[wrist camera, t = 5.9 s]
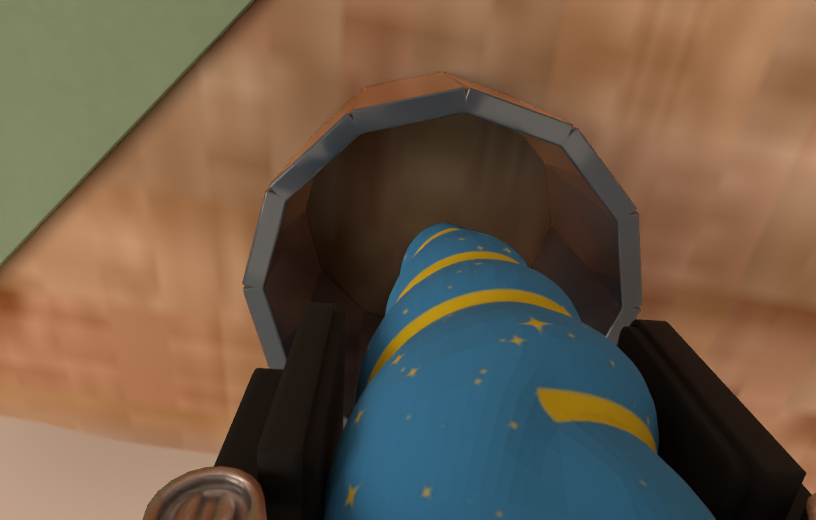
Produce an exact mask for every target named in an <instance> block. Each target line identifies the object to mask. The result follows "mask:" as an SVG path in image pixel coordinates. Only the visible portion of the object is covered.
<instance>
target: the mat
mask: <svg viewBox="0 0 816 520" xmlns="http://www.w3.org/2000/svg"><path fill="white" fill-rule="evenodd" d="M254 1H255V0H0V267H1V266H2V265H3V264H4V263H5V262H6V261H7V260H8V259H9V258H10V257H11V256H12V255H13V254H14V252H15V251H16V250H17V249H18V248H19V247H20V246H21V245H22V244H23V243H24V242H25V241H26V240H27V239H28V238H29V237H30V236H31V235H32V234H33V233H34V232H35V231H36V229H37V228H38V227H39V226H40V225H41V224H42V223H43V222H44V221H45V220H46V219H47V218H48V217H49V216H50V215H51V214H52V213H53V212H54V211H55V210H56V209H57V207H58V206H59V205H60V204H61V203H62V202H63V201H64V200H65V199H66V198H67V197H68V196H69V195H70V194H71V193H72V192H73V191H74V190H75V189H76V188H77V187H78V186H79V184H80V183H81V182H82V181H83V180H84V179H85V178H86V177H87V176H88V175H89V174H90V173H91V172H92V171H93V170H94V169H95V168H96V167H97V166H98V165H99V164H100V162H101V161H102V160H103V159H104V158H105V157H106V156H107V155H108V154H109V153H110V152H111V151H112V150H113V149H114V148H115V147H116V146H117V145H118V144H119V143H120V142H121V141H122V139H123V138H124V137H125V136H126V135H127V134H128V133H129V132H130V131H131V130H132V129H133V128H134V127H135V126H136V125H137V124H138V123H139V122H140V121H141V120H142V119H143V118H144V116H145V115H146V114H147V113H148V112H149V111H150V110H151V109H152V108H153V107H154V106H155V105H156V104H157V103H158V102H159V101H160V100H161V99H162V98H163V97H164V96H165V94H166V93H167V92H168V91H169V90H170V89H171V88H172V87H173V86H174V85H175V84H176V83H177V82H178V81H179V80H180V79H181V78H182V77H183V76H184V75H185V74H186V73H187V71H188V70H189V69H190V68H191V67H192V66H193V65H194V64H195V63H196V62H197V61H198V60H199V59H200V58H201V57H202V56H203V55H204V54H205V53H206V52H207V51H208V50H209V48H210V47H211V46H212V45H213V44H214V43H215V42H216V41H217V40H218V39H219V38H220V37H221V36H222V35H223V34H224V33H225V32H226V31H227V30H228V29H229V28H230V26H231V25H232V24H233V23H234V22H235V21H236V20H237V19H238V18H239V17H240V16H241V15H242V14H243V13H244V12H245V11H246V10H247V9H248V8H249V7H250V6H251V5H252V3H253V2H254Z"/></svg>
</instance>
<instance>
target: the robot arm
mask: <svg viewBox="0 0 816 520" xmlns="http://www.w3.org/2000/svg"><path fill="white" fill-rule="evenodd" d="M617 347H618V348H619V349H620V350H621V351H622V352H623V353H624V354H625V355H626V356H627V357H628V358H629V359H630V360H631V361H632V362H633V364H634V365H635V366H636V367H637V369H638V370H639V372H640V373H641V375H642V377H643V379H644V381H645V383H646V385H647V387H648V390H649V392H650V394H651V397H652V399H653V401H654V405H655V409H656V414H657V424H658V431H659V446H658V456H659V457H660V458H661V459H662V460H663V461H664V462H666V463H667V464H668V465H669V466H670V467H671V468H672V469H673V470H674V471H675V472H676V473H677V474H678V475H679V476H680V477H681V478H682V479H683V480H684V481H685V482H686V483H687V484H688V485H689V487H690V488H691V489H692V490H693V491H694V493H695V494H696V495H697V496H698V497H699V499H700V500H701V501H702V502H703V503H704V504H705V506H706V507H707V508H708V509H709V511H710V512H711V513H712V515H713V516H714V517H715V519H716V520H816V493H815V494H813V495H811V493H810V492H809V491H808V490H807V489H806V488H805V487H804V486H803V484H802V482H803V480H804V477H805V475H806V472H805V471H804V470H803V469H802V468H801V467H800V466H799V465H798V463H797V462H796V461H795V460H794V459H793V458H792V457H791V456H790V455H789V454H788V453H787V452H786V450H785V449H784V448H783V447H782V446H781V445H780V444H779V443H778V442H777V441H776V440H775V438H774V437H773V436H772V435H771V434H770V433H769V432H768V431H767V430H766V429H765V428H764V427H763V425H762V424H761V423H760V422H759V421H758V420H757V419H756V418H755V417H754V416H753V415H752V413H751V412H750V411H749V410H748V409H747V408H746V407H745V406H744V405H743V404H742V403H741V402H740V400H739V399H738V398H737V397H736V396H735V395H734V394H733V393H732V392H731V391H730V390H729V388H728V387H727V386H726V385H725V384H724V383H723V382H722V381H721V380H720V379H719V378H718V377H717V375H716V374H715V373H714V372H713V371H712V370H711V369H710V368H709V367H708V366H707V365H706V363H705V362H704V361H703V360H702V359H701V358H700V357H699V356H698V355H697V354H696V353H695V352H694V350H693V349H692V348H691V347H690V346H689V345H688V344H687V343H686V342H685V341H684V340H683V338H682V337H681V336H680V335H679V334H678V333H677V332H676V331H675V330H674V329H673V328H672V327H671V325H670V324H669V323H667V322H666V321H653V320H634V321H632V322H631V324H630V326H625V327H623V328H622V330H621V332H620V334H619V339H618V343H617ZM345 350H346V312H342V311H336V304H333V303H314V302H306V304H305V307H304V310H303V313H302V316H301V319H300V322H299V325H298V328H297V331H296V334H295V337H294V340H293V343H292V346H291V349H290V352H289V355H288V358H287V361H286V364H285V367H284V369H265V368H257V369H255V371H254V373H253V374H252V377H251V379H250V382H249V384H248V386H247V389H246V391H245V393H244V396H243V398H242V401H241V403H240V405H239V408H238V410H237V413H236V415H235V417H234V420H233V422H232V424H231V427H230V429H229V432H228V434H227V436H226V439H225V441H224V444H223V446H222V448H221V451H220V453H219V455H218V458H217V460H216V463H215V465H214V467H205V468H201V469H198V470H194V471H190V472H187V473H185V474H183V475H181V476H179V477H177V478H175V479H173V480H171V481H170V482H169V483H168V484H167V485H165V486H164V487H163V488H162V489H161V490H159V491H158V492H157V494H155V496H154V497H153V498H152V500H151V501H150V503H149V504H148V505H147V509H146V511H145V514H144V517H143V520H322V511H323V498H324V491H325V487H326V482H327V478H328V474H329V470H330V466H331V462H332V458H333V454H334V451H335V448H336V445H337V443H338V440H339V437H340V435H341V433H342V431H343V418H344V384H345Z"/></svg>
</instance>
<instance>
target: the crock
mask: <svg viewBox="0 0 816 520" xmlns="http://www.w3.org/2000/svg"><path fill="white" fill-rule="evenodd" d="M461 113H466V114H469V115H472V116H475V117H478V118H481V119H483V120H486V121H489V122H492V123H495V124H497V125H500V126H503V127H506V128H509V129H512V130H514V131H517V132H520V133H521V134H522V135H523V136H524V137H525V139H526V140H527V141H528V142H529V144H530V145H531V146H532V148H533V149H534V150H535V151H536V153H537V154H538V155H539V156H540V158H541V159H542V160H543V162H544V163H545V170H546V179H547V189H548V198H549V208H550V217H551V227H550V229H549V232H548V234H547V236H546V238H545V240H544V243H543V245H542V247H541V249H540V251H539V254H538V256H537V258H536V260H535V262H534V264H533V267H532V269H534V270H536V271H538V272H539V273H541V274H543V275H544V276H546V277H547V278H549V279H550V280H552V281H553V282H554V283H555V284H557V285H558V286H559V287H560V288H561V289H562V290H563V292H564V293H565V294H566V295H567V296H568V297H569V299H570V300H571V302H572V303H573V305H574V307H575V309H576V311H577V313H578V315H579V317H580V319H581V322H583V323H584V324H586V325H588V326H590V327H591V328H593V329H595V330H597V331H598V332H600V333H601V334H603V335H604V336H606V337H607V338H608V339H610V340H611V341H612V342H613V343H614V344H615V345H616V346H617V343H618V339H619V334H620V332H621V330H622V328H623V327H625V326H630V324H631V322H632V321H634V320H636V318H637V316H638V315H639V313H640V311H641V309H640V307H639V306H642V281H641V258H640V234H639V214H638V212H637V211H635V210H636V209H637V208H636V206H635V205H634V203H633V202H632V201H631V199H630V198H629V197H628V195H627V194H626V192H625V191H624V190H623V188H622V187H621V186H620V184H619V183H618V182H617V180H616V179H615V178H614V176H613V175H612V174H611V172H610V171H609V170H608V168H607V167H606V166H605V164H604V163H603V161H602V160H601V159H600V157H599V156H598V155H597V153H596V152H595V151H594V149H593V148H592V147H591V145H590V144H589V143H588V141H587V140H586V139H585V137H584V136H583V135H582V133H581V132H580V130H579V129H578V128H576V127H574V126H573V125H572V124H570V123H568V122H566V121H564V120H562V119H560V118H557V117H555V116H553V115H551V114H549V113H546V112H544V111H542V110H540V109H538V108H536V107H533V106H531V105H529V104H527V103H525V102H522V101H520V100H518V99H516V98H514V97H511V96H509V95H506V94H503V93H500V92H498V91H495V90H492V89H489V88H487V87H484V86H481V85H478V84H476V83H473V82H470V81H467V80H465V79H462V78H459V77H456V76H454V75H451V74H448V73H445V72H443V73H441V72H436V73H431V74H426V75H421V76H417V77H412V78H407V79H402V80H397V81H393V82H388V83H383V84H378V85H373V86H368V87H366V88H365V90H364V89H362V90H361V91H360V92H359V93H358V94H357V95H356V96H355V97H354V98H352V99H351V100H350V101H349V102H348V103H347V104H346V105H345V106H344V107H343V108H342V109H341V110H340V111H339V112H338V113H336V114H335V115H334V116H333V117H332V118H331V119H330V120H329V121H328V122H327V123H326V124H325V125H324V126H323V127H321V128H320V129H319V130H318V131H317V132H316V133H315V134H314V135H313V136H312V137H311V138H310V139H309V140H308V141H307V142H306V143H305V145H304V146H303V147H302V148H301V149H300V150H299V152H298V153H297V154H296V155H295V156H294V157H293V158H292V160H291V161H290V162H289V163H288V164H287V165H286V166H285V168H284V169H283V170H282V171H281V172H280V173H279V174H278V176H277V177H276V178H275V179H274V180H273V181H272V182H271V184H270V185H269V188H268V189H267V191H266V192H265V195H264V199H263V203H262V207H261V211H260V215H259V219H258V223H257V227H256V231H255V235H254V238H253V242H252V246H251V250H250V254H249V258H248V262H247V266H246V270H245V274H244V278H243V282H242V283H243V285H244V287H243V292H244V295H245V298H246V301H247V304H248V307H249V310H250V313H251V316H252V319H253V322H254V325H255V328H256V331H257V334H258V337H259V340H260V343H261V346H262V349H263V351H264V354H265V357H266V360H267V363H268V366H269V369H284V367H285V364H286V361H287V358H288V355H289V352H290V349H291V346H292V343H293V340H294V337H295V334H296V331H297V328H298V325H299V322H300V319H301V316H302V313H303V310H304V307H305V304H306V302H314V303H333V304H336V311H342V312H346V350H345V384H344V418H343V429H344V427H345V425H346V422H347V420H348V418H349V416H350V414H351V412H352V410H353V408H354V406H355V404H356V401H355V399H356V392H357V384H358V377H359V372H360V367H361V363H362V360H363V358H364V355H365V352H366V350H367V347H368V344H369V342H370V340H371V338H372V337H373V335H374V333H375V331H376V330H377V328H378V327H379V325H380V323H381V322H382V320H383V318H384V317H383V316H379V315H376V314H372V313H369V312H366V311H363V310H362V309H361V308H360V307H359V306H358V305H357V304H356V303H355V302H354V301H352V300H351V299H350V298H349V297H348V296H347V295H346V294H345V293H344V292H343V291H342V290H341V289H340V288H339V287H338V286H337V285H336V284H335V283H334V282H333V281H332V280H331V279H330V278H329V277H328V276H327V275H326V274H325V273H324V272H323V271H322V270H321V268H320V264H319V261H318V257H317V254H316V250H315V246H314V243H313V239H312V235H311V232H310V228H309V225H308V221H307V217H306V214H305V208H306V204H307V201H308V197H309V194H310V190H311V187H312V183H313V180H314V176H315V175H317V174H318V173H319V172H320V171H321V170H322V169H323V168H324V167H325V166H326V165H327V164H329V163H330V162H331V161H332V160H333V159H334V158H335V157H336V156H337V155H338V154H340V153H341V152H342V151H343V150H344V149H345V148H346V147H347V146H348V145H349V144H351V143H352V142H353V141H354V140H355V139H356V138H357V137H358V136H359V135H360V134H362V133H367V132H372V131H377V130H382V129H387V128H392V127H397V126H402V125H407V124H412V123H416V122H421V121H426V120H431V119H436V118H441V117H446V116H451V115H456V114H461Z"/></svg>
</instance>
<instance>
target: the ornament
mask: <svg viewBox="0 0 816 520" xmlns="http://www.w3.org/2000/svg"><path fill="white" fill-rule="evenodd" d="M355 401H356V404H355V406H354V408H353V410H352V412H351V414H350V416H349V418H348V420H347V422H346V425H345V427H344V429H343V431H342V433H341V435H340V437H339V440H338V443H337V445H336V448H335V451H334V454H333V458H332V462H331V466H330V470H329V474H328V478H327V482H326V487H325V491H324V498H323V511H322V520H716V519H715V517H714V516H713V515H712V513H711V512H710V511H709V509H708V508H707V507H706V506H705V504H704V503H703V502H702V501H701V500H700V499H699V497H698V496H697V495H696V494H695V493H694V491H693V490H692V489H691V488H690V487H689V485H688V484H687V483H686V482H685V481H684V480H683V479H682V478H681V477H680V476H679V475H678V474H677V473H676V472H675V471H674V470H673V469H672V468H671V467H670V466H669V465H668V464H667V463H666V462H664V461H663V460H662V459H661V458H660V457H659V456H658V446H659V431H658V424H657V414H656V409H655V405H654V401H653V399H652V397H651V394H650V392H649V390H648V387H647V385H646V383H645V381H644V379H643V377H642V375H641V373H640V372H639V370H638V369H637V367H636V366H635V365H634V364H633V362H632V361H631V360H630V359H629V358H628V357H627V356H626V355H625V354H624V353H623V352H622V351H621V350H620V349H619V348H618V347H617V346H616V345H615V344H614V343H613V342H612V341H611V340H610V339H608V338H607V337H606V336H604V335H603V334H601V333H600V332H598V331H597V330H595V329H593V328H591V327H590V326H588V325H586V324H584V323H583V322H581V319H580V317H579V315H578V313H577V311H576V309H575V307H574V305H573V303H572V302H571V300H570V299H569V297H568V296H567V295H566V294H565V293H564V292H563V290H562V289H561V288H560V287H559V286H558V285H557V284H555V283H554V282H553V281H552V280H550V279H549V278H547V277H546V276H544V275H543V274H541V273H539V272H538V271H536V270H534V269H531V268H529V267H528V265H527V264H526V262H525V260H524V259H523V258H522V257H521V256H520V255H519V254H518V253H517V252H516V251H515V250H514V249H513V248H512V247H511V246H509V245H508V244H506V243H504V242H503V241H501V240H499V239H498V238H496V237H493V236H491V235H488V234H485V233H481V232H477V231H473V230H468V229H466V228H463V227H460V226H457V225H454V224H450V223H438V224H435V225H432V226H430V227H428V228H426V229H425V230H423V231H422V232H420V233H419V234H418V235H417V236H416V237H415V239H414V240H413V241H412V242H411V244H410V245H409V247H408V249H407V251H406V253H405V255H404V258H403V261H402V265H401V271H400V275H399V277H398V279H397V281H396V283H395V285H394V287H393V289H392V291H391V293H390V296H389V299H388V303H387V307H386V312H385V317H384V318H383V320H382V322H381V323H380V325H379V327H378V328H377V330H376V331H375V333H374V335H373V337H372V338H371V340H370V342H369V344H368V347H367V350H366V352H365V355H364V358H363V360H362V363H361V367H360V372H359V377H358V384H357V392H356V399H355Z"/></svg>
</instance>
